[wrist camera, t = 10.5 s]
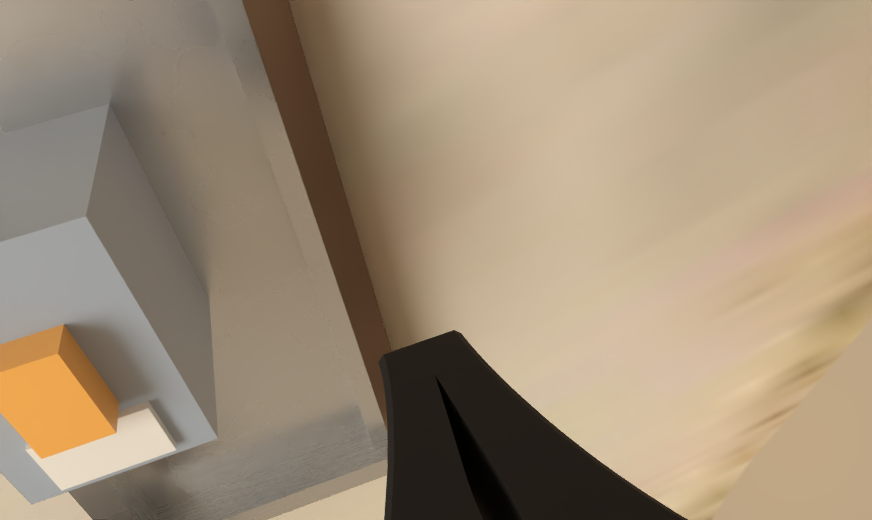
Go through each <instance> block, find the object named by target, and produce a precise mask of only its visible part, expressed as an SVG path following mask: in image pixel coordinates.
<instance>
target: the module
mask: <svg viewBox="0 0 872 520" xmlns="http://www.w3.org/2000/svg"><path fill="white" fill-rule="evenodd" d="M215 439H218V430H217V414H216V398H215V382H214V366H213V350H212V334H211V318H210V302H209V300H208V298H207V296H206V294H205V292H204V290H203V288H202V286H201V284H200V282H199V280H198V278H197V276H196V274H195V272H194V270H193V268H192V266H191V264H190V262H189V260H188V258H187V256H186V254H185V252H184V250H183V248H182V246H181V244H180V242H179V240H178V238H177V236H176V234H175V232H174V231H173V229H172V227H171V225H170V223H169V221H168V219H167V217H166V215H165V213H164V211H163V209H162V207H161V205H160V203H159V201H158V199H157V197H156V195H155V193H154V191H153V189H152V187H151V185H150V183H149V181H148V179H147V177H146V175H145V173H144V171H143V169H142V167H141V165H140V163H139V161H138V159H137V157H136V155H135V153H134V151H133V149H132V147H131V145H130V143H129V141H128V139H127V137H126V136H125V134H124V132H123V130H122V128H121V126H120V124H119V122H118V120H117V118H116V116H115V114H114V112H113V110H112V108H111V106H110V104H106V105H103V106H99V107H96V108H92V109H88V110H85V111H81V112H78V113H74V114H70V115H67V116H63V117H60V118H56V119H52V120H49V121H45V122H42V123H38V124H34V125H31V126H27V127H24V128H20V129H16V130H13V131H9V132H6V133H2V134H0V472H1V473H2V474H3V475H4V476H5V477H6V479H7V480H8V481H9V482H10V483H11V484H12V485H13V486H14V487H15V488H16V489H17V490H18V491H19V492H20V493H21V494H22V495H23V496H24V497H25V498H26V499H27V500H28V501H29V502H30V503H31V504H35V503H37V502H40V501H43V500H46V499H49V498H52V497H54V496H57V495H60V494H63V493H66V492H68V491H71V490H74V489H77V488H80V487H83V486H85V485H88V484H91V483H94V482H97V481H100V480H102V479H105V478H108V477H111V476H114V475H116V474H119V473H122V472H125V471H128V470H131V469H133V468H136V467H139V466H142V465H145V464H148V463H150V462H153V461H156V460H159V459H162V458H164V457H167V456H170V455H173V454H176V453H179V452H181V451H184V450H187V449H190V448H193V447H196V446H198V445H201V444H204V443H207V442H210V441H212V440H215Z"/></svg>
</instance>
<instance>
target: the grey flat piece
mask: <svg viewBox="0 0 872 520" xmlns="http://www.w3.org/2000/svg"><path fill="white" fill-rule="evenodd" d="M106 104H110V106H111V108H112V110H113V112H114V114H115V116H116V118H117V120H118V122H119V124H120V126H121V128H122V130H123V132H124V134H125V136H126V137H127V139H128V141H129V143H130V145H131V147H132V149H133V151H134V153H135V155H136V157H137V159H138V161H139V163H140V165H141V167H142V169H143V171H144V173H145V175H146V177H147V179H148V181H149V183H150V185H151V187H152V189H153V191H154V193H155V195H156V197H157V199H158V201H159V203H160V205H161V207H162V209H163V211H164V213H165V215H166V217H167V219H168V221H169V223H170V225H171V227H172V229H173V231H174V232H175V234H176V236H177V238H178V240H179V242H180V244H181V246H182V248H183V250H184V252H185V254H186V256H187V258H188V260H189V262H190V264H191V266H192V268H193V270H194V272H195V274H196V276H197V278H198V280H199V282H200V284H201V286H202V288H203V290H204V292H205V294H206V296H207V298H208V300H209V302H210V318H211V334H212V350H213V366H214V382H215V398H216V414H217V430H218V439H215V440H212V441H210V442H207V443H204V444H201V445H198V446H196V447H193V448H190V449H187V450H184V451H181V452H179V453H176V454H173V455H170V456H167V457H164V458H162V459H159V460H156V461H153V462H150V463H148V464H145V465H142V466H139V467H136V468H133V469H131V470H128V471H125V472H122V473H119V474H116V475H114V476H111V477H108V478H105V479H102V480H100V481H97V482H94V483H91V484H88V485H85V486H83V487H80V488H77V489H74V490H71V491H68V492H69V493H70V494H71V495H72V496H73V497H74V499H75V500H76V501H77V502H78V503H79V504H80V505H81V507H82V508H83V509H84V510H85V511H86V512H87V513H88V515H89V516H90V517H91V518H92V519H93V520H267V519H270V518H273V517H275V516H278V515H281V514H283V513H286V512H289V511H291V510H294V509H297V508H300V507H302V506H305V505H308V504H310V503H313V502H316V501H318V500H321V499H324V498H326V497H329V496H332V495H334V494H337V493H340V492H342V491H345V490H348V489H350V488H353V487H356V486H358V485H361V484H364V483H366V482H369V481H372V480H375V479H377V478H380V477H383V476H385V475H387V466H388V464H387V429H386V426H385V423H384V420H383V417H382V414H381V411H380V408H379V405H378V402H377V399H376V396H375V393H374V390H373V387H372V384H371V381H370V378H369V375H368V372H367V369H366V366H365V363H364V360H363V357H362V355H361V352H360V349H359V346H358V343H357V340H356V337H355V334H354V331H353V328H352V325H351V322H350V319H349V316H348V313H347V310H346V307H345V304H344V301H343V298H342V295H341V292H340V289H339V286H338V283H337V280H336V277H335V274H334V271H333V268H332V265H331V262H330V259H329V256H328V253H327V250H326V247H325V245H324V242H323V239H322V236H321V233H320V230H319V227H318V224H317V221H316V218H315V215H314V212H313V209H312V206H311V203H310V200H309V197H308V194H307V191H306V188H305V185H304V182H303V179H302V176H301V173H300V170H299V167H298V164H297V161H296V158H295V155H294V152H293V149H292V146H291V143H290V140H289V138H288V135H287V132H286V129H285V126H284V123H283V120H282V117H281V114H280V111H279V108H278V105H277V102H276V99H275V96H274V93H273V90H272V87H271V84H270V81H269V78H268V75H267V72H266V69H265V66H264V63H263V60H262V57H261V54H260V51H259V48H258V45H257V42H256V39H255V36H254V33H253V31H252V28H251V25H250V22H249V19H248V16H247V13H246V10H245V7H244V4H243V1H242V0H0V134H2V133H6V132H9V131H13V130H16V129H20V128H24V127H27V126H31V125H34V124H38V123H42V122H45V121H49V120H52V119H56V118H60V117H63V116H67V115H70V114H74V113H78V112H81V111H85V110H88V109H92V108H96V107H99V106H103V105H106Z"/></svg>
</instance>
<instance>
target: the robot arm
mask: <svg viewBox="0 0 872 520" xmlns="http://www.w3.org/2000/svg"><path fill="white" fill-rule="evenodd" d="M378 363H379V366H380V369H381V373H382V378H383V384H384V390H385V399H386V411H387V464H388V466H387V487H386V502H385V517H384V520H688V519H686V518H684V517H682V516H681V515H679V514H677V513H676V512H674V511H672V510H671V509H669V508H668V507H666V506H665V505H663V504H662V503H660V502H658V501H657V500H655V499H654V498H652V497H651V496H649V495H648V494H646V493H644V492H643V491H641V490H640V489H638V488H637V487H635V486H634V485H633V484H631V483H630V482H628V481H627V480H625V479H624V478H622V477H621V476H619V475H618V474H617V473H615V472H614V471H612V470H611V469H610V468H608V467H607V466H605V465H604V464H603V463H601V462H600V461H599V460H597V459H596V458H595V457H593V456H592V455H591V454H589V453H588V452H587V451H585V450H584V449H583V448H582V447H580V446H579V445H578V444H576V443H575V442H574V441H573V440H571V439H570V438H569V437H568V436H566V435H565V434H564V433H563V432H561V431H560V430H559V429H558V428H557V427H555V426H554V425H553V424H552V423H551V422H549V421H548V420H547V419H546V418H545V417H544V416H542V415H541V414H540V413H539V412H538V411H537V410H536V409H535V408H533V407H532V406H531V405H530V404H529V403H528V402H527V401H526V400H524V399H523V398H522V397H521V396H520V395H519V394H518V393H517V392H516V391H515V390H514V389H512V388H511V387H510V386H509V385H508V384H507V383H506V382H505V381H504V380H503V379H502V378H501V377H500V376H499V375H498V374H497V373H496V372H495V371H494V370H493V369H492V368H491V367H490V366H489V365H488V364H487V363H486V362H485V360H484V359H483V358H482V357H481V356H480V355H479V354H478V353H477V352H476V351H475V349H474V348H473V347H472V346H471V345H470V344H469V343H468V341H467V340H466V339H465V338H464V336H463V335H462V334H461V333H459V332H457V331H455V330H453V331H450V332H447V333H445V334H442V335H439V336H436V337H433V338H430V339H427V340H424V341H421V342H419V343H416V344H413V345H410V346H407V347H404V348H401V349H398V350H396V351H393V352H390V353H387V354H384V355H383V356H382V357H381V359H380V360H379V362H378Z"/></svg>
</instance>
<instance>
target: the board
mask: <svg viewBox="0 0 872 520" xmlns="http://www.w3.org/2000/svg"><path fill="white" fill-rule="evenodd" d="M242 1H243V4H244V7H245V10H246V13H247V16H248V19H249V22H250V25H251V28H252V31H253V33H254V36H255V39H256V42H257V45H258V48H259V51H260V54H261V57H262V60H263V63H264V66H265V69H266V72H267V75H268V78H269V81H270V84H271V87H272V90H273V93H274V96H275V99H276V102H277V105H278V108H279V111H280V114H281V117H282V120H283V123H284V126H285V129H286V132H287V135H288V138H289V140H290V143H291V146H292V149H293V152H294V155H295V158H296V161H297V164H298V167H299V170H300V173H301V176H302V179H303V182H304V185H305V188H306V191H307V194H308V197H309V200H310V203H311V206H312V209H313V212H314V215H315V218H316V221H317V224H318V227H319V230H320V233H321V236H322V239H323V242H324V245H325V247H326V250H327V253H328V256H329V259H330V262H331V265H332V268H333V271H334V274H335V277H336V280H337V283H338V286H339V289H340V292H341V295H342V298H343V301H344V304H345V307H346V310H347V313H348V316H349V319H350V322H351V325H352V328H353V331H354V334H355V337H356V340H357V343H358V346H359V349H360V352H361V355H362V357H363V360H364V363H365V366H366V369H367V372H368V375H369V378H370V381H371V384H372V387H373V390H374V393H375V396H376V399H377V402H378V405H379V408H380V411H381V414H382V417H383V420H384V423H385V426H386V429H387V411H386V399H385V390H384V384H383V378H382V373H381V369H380V366H379V363H378V362H379V360H380V359H381V357H382V356H383V355H384V354H387V353H390V352H392V351H391V348H390V345H389V341H388V338H387V335H386V331H385V328H384V324H383V321H382V318H381V314H380V311H379V307H378V304H377V301H376V297H375V294H374V291H373V287H372V284H371V280H370V277H369V274H368V270H367V267H366V264H365V260H364V257H363V253H362V250H361V247H360V243H359V240H358V236H357V233H356V230H355V226H354V223H353V220H352V216H351V213H350V209H349V206H348V203H347V199H346V196H345V193H344V189H343V186H342V182H341V179H340V176H339V172H338V169H337V165H336V162H335V159H334V155H333V152H332V149H331V145H330V142H329V138H328V135H327V132H326V128H325V125H324V122H323V118H322V115H321V111H320V108H319V105H318V101H317V98H316V94H315V91H314V88H313V84H312V81H311V78H310V74H309V71H308V67H307V64H306V61H305V57H304V54H303V51H302V47H301V44H300V40H299V37H298V34H297V30H296V27H295V23H294V20H293V17H292V13H291V10H290V7H289V3H288V0H242Z"/></svg>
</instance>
